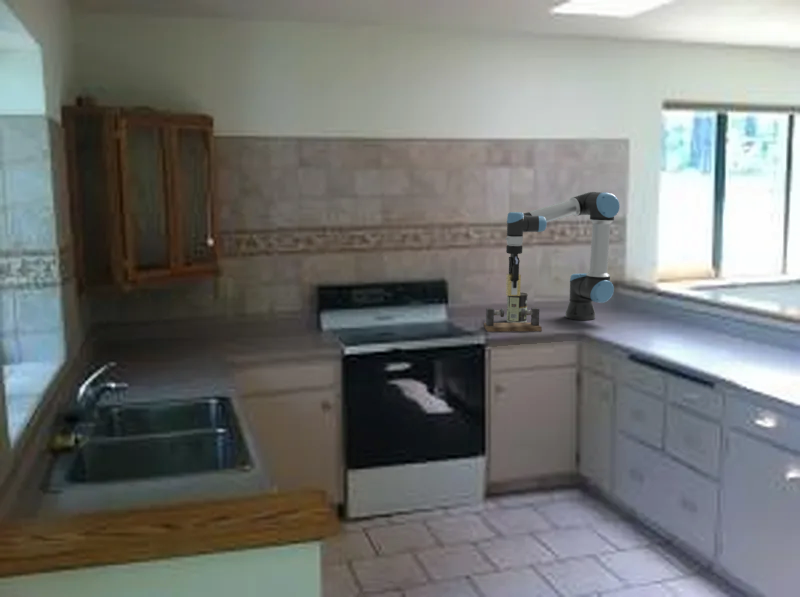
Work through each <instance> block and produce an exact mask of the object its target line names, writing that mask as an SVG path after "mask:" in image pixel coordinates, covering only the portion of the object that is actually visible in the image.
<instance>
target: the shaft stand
mask: <svg viewBox="0 0 800 597" xmlns="http://www.w3.org/2000/svg"><path fill="white" fill-rule="evenodd" d="M525 315H527V316H530V322H525V323H510V322H494V321H495V320H494V318H495V317H494V316H500V317H501V318H504V317H505V309H504V308H500V309H499V310H498V309H497V310H496V309H494V308H493V307H486V308H485V322H483V328H484V330H487V331H486V332H492V333H494V332H501V333H502V332H542V328H543V327H542V325H540V308H539V307H531V309H527V310H525V308H522V309H521V316H522V317H525Z"/></svg>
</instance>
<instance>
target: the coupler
mask: <svg viewBox="0 0 800 597" xmlns="http://www.w3.org/2000/svg"><path fill="white" fill-rule="evenodd" d="M505 275H506V279H505V280H506V282H505V295H506V297H507V296H520V292H521V283H522V282H521V281H522V279H521V277H522V275H521V274H520V273H519V280H518V282H517V295H511V284H512V281H511V280H512V274H509V273H506V274H505Z"/></svg>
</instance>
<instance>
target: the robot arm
mask: <svg viewBox="0 0 800 597" xmlns="http://www.w3.org/2000/svg"><path fill="white" fill-rule="evenodd" d="M619 212H620V201H619V199H618V197H617V196H616V195H615V194H613V193H611V192H610V193H609V192H607V191H606V192H602V191H601V192H597V191H589V192H587V193H582V194H580V195H576V196H573V197H570V198H569V200H566V201H563V202H559V203H556V204H552V205H549V206H545V207H542V208H537V209H535V210H530V211H527V212H524V213H523V212H522V211H521V212H520V211H516V212H515V211H511V212H508V213H507V219H506V237H505V241H506V246H505V247H506V249H505V250H506V251H505V252H506V254H510V256H509V257H508V274H512V280H511V281H512V284H511V295H517V282H518V280H519V274H520V262H521V260H520V257H519V255H522V254H523V243H524V242H523V241H524V233H539V232H540V233H541V232H544V231H545V230H546V229H547V227H548V226H547V224H548V223H550V222H554V221H557V220H561V219H564V218H567V217H570V216H574V217H578V216H589V221H590V222H591V223H592V226H591V227H592V228H591V244H590V260H589V270H588V272H587V273H572V274H571V275H570V279H569V302H568V305H567V308H566V311H565V316H564V317H565V318H567V319H568V320H569V319H570V320H577V321H589V320H591V321H592V320H595V319H596V311H595V307H594V304H593V303H599V304H604V303H607V302H608V301H609V300H610V299H611V298H612V297H613V296H614V291H615V286H614V284H613V282H612V281H611V274H609V273H608V270H609V269H608V267H609V252H610V251H609V250H610V239H611V238H610V235H611V225H612V223H614V221H615V216H616V215H617V214H618V213H619Z"/></svg>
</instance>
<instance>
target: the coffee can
mask: <svg viewBox="0 0 800 597" xmlns="http://www.w3.org/2000/svg"><path fill="white" fill-rule="evenodd" d="M528 295H529V294H528V293H526V292H521V291H520V296H507V295H506V323H528V315H525V317H522V316H521V309H522V308H525V310H528Z"/></svg>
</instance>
